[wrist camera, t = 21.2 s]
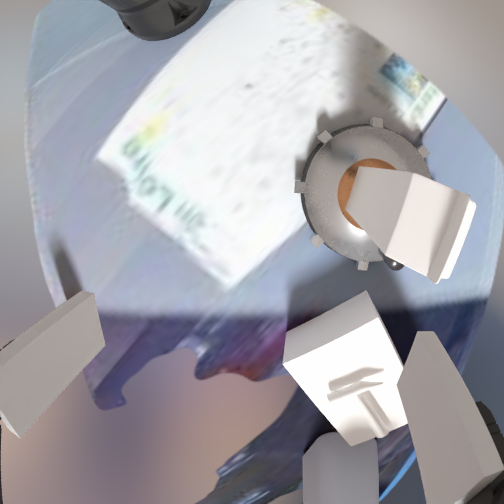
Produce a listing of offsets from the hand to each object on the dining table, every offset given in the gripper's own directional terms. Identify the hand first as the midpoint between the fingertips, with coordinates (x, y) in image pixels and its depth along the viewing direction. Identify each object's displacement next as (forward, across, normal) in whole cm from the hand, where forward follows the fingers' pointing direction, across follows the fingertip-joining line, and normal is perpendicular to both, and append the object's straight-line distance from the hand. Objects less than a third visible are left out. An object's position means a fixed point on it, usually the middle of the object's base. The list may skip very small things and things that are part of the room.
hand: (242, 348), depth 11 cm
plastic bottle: (+31, +18, -53) cm, 64 cm away
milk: (+29, +11, +3) cm, 31 cm away
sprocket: (+30, +11, +3) cm, 33 cm away
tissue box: (+32, +15, -25) cm, 43 cm away
